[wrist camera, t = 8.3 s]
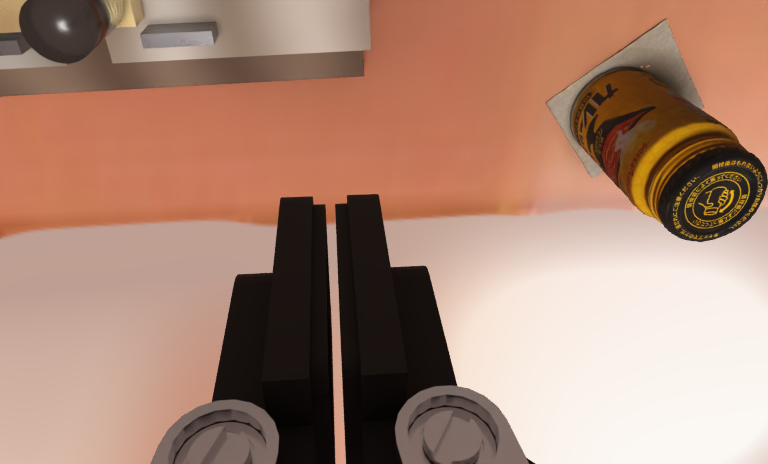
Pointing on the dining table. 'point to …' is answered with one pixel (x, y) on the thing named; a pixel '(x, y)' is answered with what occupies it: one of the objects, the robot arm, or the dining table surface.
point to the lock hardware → (149, 36)
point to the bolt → (67, 24)
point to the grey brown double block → (210, 48)
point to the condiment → (661, 141)
